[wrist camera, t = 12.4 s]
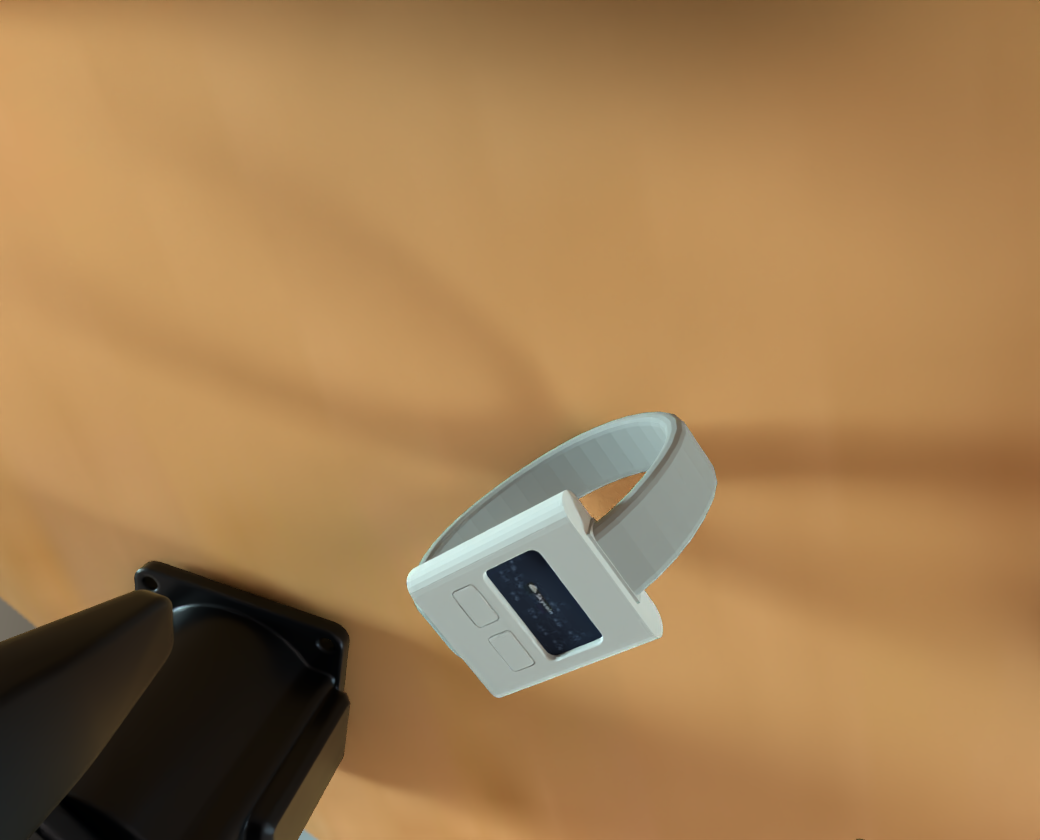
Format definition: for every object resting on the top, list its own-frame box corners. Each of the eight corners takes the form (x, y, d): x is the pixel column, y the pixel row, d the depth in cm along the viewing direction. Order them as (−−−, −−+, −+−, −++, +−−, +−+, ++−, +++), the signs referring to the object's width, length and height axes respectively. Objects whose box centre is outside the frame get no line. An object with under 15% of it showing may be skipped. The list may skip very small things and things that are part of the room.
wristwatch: (503, 565, 16) (434, 730, 12) (437, 479, 15) (337, 617, 11) (733, 454, 14) (756, 611, 9) (663, 347, 13) (652, 458, 8)
